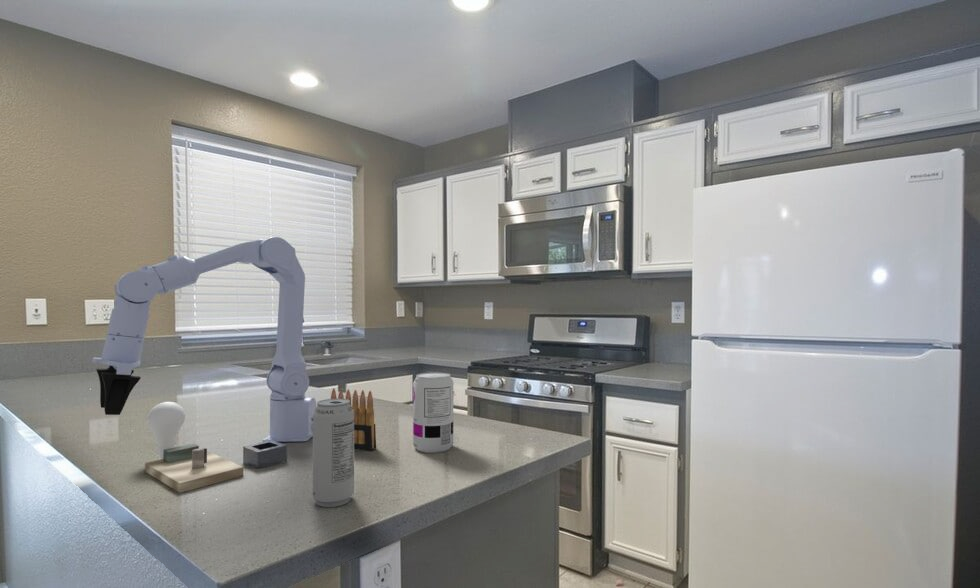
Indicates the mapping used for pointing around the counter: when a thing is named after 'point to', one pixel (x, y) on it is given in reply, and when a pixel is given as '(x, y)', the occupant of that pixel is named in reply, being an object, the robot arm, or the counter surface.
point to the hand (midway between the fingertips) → (109, 411)
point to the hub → (264, 454)
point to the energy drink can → (333, 452)
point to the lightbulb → (165, 424)
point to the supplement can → (433, 412)
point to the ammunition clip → (361, 419)
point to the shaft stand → (191, 468)
